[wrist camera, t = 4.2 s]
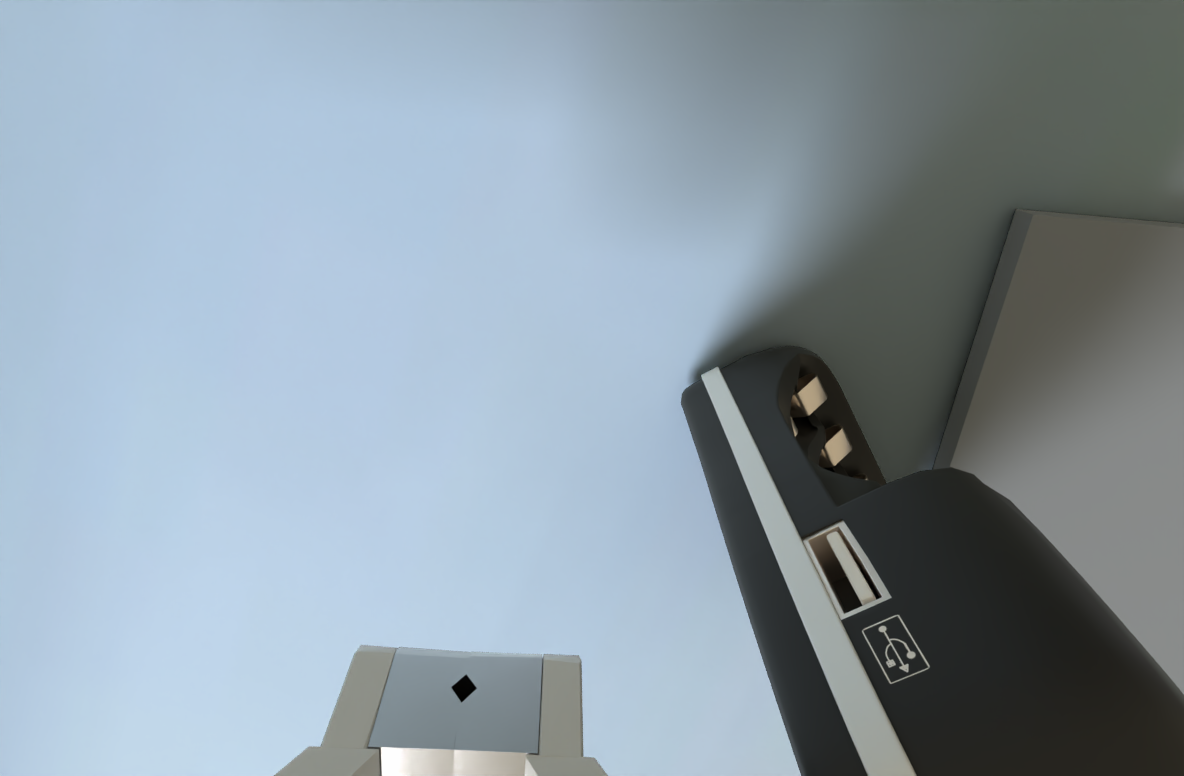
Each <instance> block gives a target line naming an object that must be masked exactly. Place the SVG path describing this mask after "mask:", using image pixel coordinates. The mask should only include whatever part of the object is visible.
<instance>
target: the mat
mask: <svg viewBox="0 0 1184 776" xmlns="http://www.w3.org/2000/svg"><path fill="white" fill-rule="evenodd" d="M949 467H953V468H956V469H959V470H962V471H965V472H968V473H971V474H974V475H975V476H976V477H977V478H978V479H980V480H981V481H982V482H983V483H984V484H985V485H987V486H989V487H990V488H992V489H993V490H995V491H996V492H998V493H1000V494H1001V495H1003V496H1004V497H1006V498H1008V499H1009V500H1010V501H1011V502H1012V503H1013V504H1014V505H1015V506H1016V507H1017V508H1018V509H1019V510H1020V511H1021V512H1022V513H1023V514H1024V515H1025V516H1026V517H1027V518H1028V519H1029V520H1030V521H1031V522H1032V523H1033V524H1034V525H1035V526H1036V527H1037V528H1038V529H1039V530H1040V531H1041V532H1042V533H1043V534H1044V536H1045V537H1046V538H1047V539H1048V540H1049V541H1050V542H1051V543H1052V544H1053V545H1054V546H1055V548H1056V549H1057V550H1058V551H1059V552H1060V553H1061V554H1062V555H1063V556H1064V557H1065V558H1066V560H1067V561H1068V562H1069V563H1070V564H1071V565H1072V566H1073V567H1074V568H1075V569H1076V570H1077V572H1078V573H1079V574H1080V575H1081V576H1082V577H1083V578H1084V579H1085V581H1086V582H1087V583H1088V584H1089V585H1090V586H1091V587H1092V588H1093V590H1094V591H1095V592H1096V593H1097V594H1098V595H1099V596H1100V597H1101V599H1102V600H1103V601H1104V602H1105V603H1106V604H1107V605H1108V606H1109V608H1110V609H1111V610H1112V611H1113V612H1114V613H1115V614H1116V615H1117V617H1118V618H1119V619H1120V620H1121V621H1122V622H1123V624H1124V625H1125V626H1126V627H1127V628H1128V629H1129V631H1130V632H1131V633H1132V634H1133V635H1134V636H1135V637H1136V639H1137V640H1138V641H1139V642H1140V643H1141V644H1142V646H1143V647H1144V648H1145V649H1146V650H1147V651H1148V653H1149V654H1150V655H1151V656H1152V657H1153V658H1154V660H1155V661H1156V662H1157V663H1158V664H1159V665H1160V666H1161V668H1162V669H1163V670H1164V671H1165V672H1166V674H1167V675H1168V676H1169V677H1170V678H1171V680H1172V681H1173V682H1174V683H1175V684H1176V686H1177V687H1178V688H1179V689H1180V690H1181V692H1182V693H1183V694H1184V224H1181V223H1170V222H1158V221H1147V220H1135V219H1124V218H1113V217H1101V216H1090V215H1078V214H1067V213H1056V212H1044V211H1033V210H1021V209H1016V211H1015V214H1014V217H1013V220H1012V223H1011V226H1010V229H1009V232H1008V236H1007V239H1006V242H1005V245H1004V248H1003V251H1002V254H1001V257H1000V260H999V264H998V267H997V270H996V273H995V276H994V279H993V282H992V285H991V289H990V292H989V295H988V298H987V301H986V304H985V307H984V310H983V314H982V317H981V320H980V323H979V326H978V329H977V332H976V335H975V338H974V342H973V345H972V348H971V351H970V354H969V357H968V360H967V363H966V367H965V370H964V373H963V376H962V379H961V382H960V385H959V388H958V391H957V395H956V398H955V401H954V404H953V407H952V410H951V413H950V416H949V420H948V423H947V426H946V429H945V432H944V435H943V438H942V441H941V445H940V448H939V451H938V454H937V457H936V460H935V463H934V466H933V469H932V470H934V469H941V468H949Z"/></svg>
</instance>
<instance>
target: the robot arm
mask: <svg viewBox="0 0 1184 776" xmlns="http://www.w3.org/2000/svg"><path fill="white" fill-rule="evenodd" d="M274 776H608V775H607V774H606V773H605V771H604V770H603V768H602V767H601V766H600V764H599V763H598V762H597V760H596V759H595V758H591V757H583V716H582V668H581V659H580V657H579V655H554V654H544V655H543V659H542V654H520V653H494V652H462V651H449V650H435V649H421V648H407V647H399V648H394V647H381V646H368V645H361V646H360V647H359V648H358V650H357V651H356V652H355V654H354V656H353V659H352V661H351V664H350V667H349V670H348V672H347V675H346V678H345V681H344V683H343V686H342V689H341V692H340V694H339V697H338V700H337V703H336V705H335V708H334V711H333V714H332V716H331V719H330V722H329V725H328V727H327V730H326V733H325V736H324V738H323V741H322V744H321V747H307V748H306V749H305V750H304V751H303V752H301V753H300V754H299V755H298V756H297V757H296V758H294V759H293V760H292V761H291V762H290V763H288V764H287V765H286V766H285V767H284V768H282V769H281V770H280V771H279V772H278V773H276V774H275V775H274Z"/></svg>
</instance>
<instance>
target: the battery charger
mask: <svg viewBox="0 0 1184 776" xmlns="http://www.w3.org/2000/svg"><path fill="white" fill-rule="evenodd" d="M701 377H702V379H701V380H700V381H698V382H696V383H694V384H692V385H690V386H689V387H688V388H686V389H685V390H684V392H683V393H682V399H681V405H682V408H683V411H684V414H685V416H686V419H687V422H688V425H689V428H690V431H691V434H692V437H693V440H694V443H695V446H696V449H697V452H698V455H699V458H700V461H701V465H702V468H703V471H704V474H705V477H706V480H707V484H708V487H709V490H710V494H711V497H712V501H713V504H714V507H715V510H716V514H717V517H718V520H719V523H720V527H721V530H722V533H723V536H724V540H725V543H726V546H727V549H728V552H729V556H730V559H731V562H732V565H733V569H734V572H735V575H736V578H737V581H738V584H739V588H740V591H741V594H742V597H743V600H744V603H745V606H746V609H747V613H748V616H749V619H750V622H751V625H752V628H753V631H754V634H755V637H756V640H757V643H758V646H759V649H760V653H761V656H762V659H763V662H764V665H765V668H766V671H767V674H768V677H769V680H770V683H771V686H772V689H773V692H774V695H775V698H776V701H777V704H778V707H779V710H780V713H781V716H782V719H783V722H784V725H785V728H786V731H787V734H788V737H789V740H790V743H791V746H792V749H793V752H794V755H795V758H796V761H797V764H798V767H799V770H800V773H801V776H1184V694H1183V693H1182V692H1181V690H1180V689H1179V688H1178V687H1177V686H1176V684H1175V683H1174V682H1173V681H1172V680H1171V678H1170V677H1169V676H1168V675H1167V674H1166V672H1165V671H1164V670H1163V669H1162V668H1161V666H1160V665H1159V664H1158V663H1157V662H1156V661H1155V660H1154V658H1153V657H1152V656H1151V655H1150V654H1149V653H1148V651H1147V650H1146V649H1145V648H1144V647H1143V646H1142V644H1141V643H1140V642H1139V641H1138V640H1137V639H1136V637H1135V636H1134V635H1133V634H1132V633H1131V632H1130V631H1129V629H1128V628H1127V627H1126V626H1125V625H1124V624H1123V622H1122V621H1121V620H1120V619H1119V618H1118V617H1117V615H1116V614H1115V613H1114V612H1113V611H1112V610H1111V609H1110V608H1109V606H1108V605H1107V604H1106V603H1105V602H1104V601H1103V600H1102V599H1101V597H1100V596H1099V595H1098V594H1097V593H1096V592H1095V591H1094V590H1093V588H1092V587H1091V586H1090V585H1089V584H1088V583H1087V582H1086V581H1085V579H1084V578H1083V577H1082V576H1081V575H1080V574H1079V573H1078V572H1077V570H1076V569H1075V568H1074V567H1073V566H1072V565H1071V564H1070V563H1069V562H1068V561H1067V560H1066V558H1065V557H1064V556H1063V555H1062V554H1061V553H1060V552H1059V551H1058V550H1057V549H1056V548H1055V546H1054V545H1053V544H1052V543H1051V542H1050V541H1049V540H1048V539H1047V538H1046V537H1045V536H1044V534H1043V533H1042V532H1041V531H1040V530H1039V529H1038V528H1037V527H1036V526H1035V525H1034V524H1033V523H1032V522H1031V521H1030V520H1029V519H1028V518H1027V517H1026V516H1025V515H1024V514H1023V513H1022V512H1021V511H1020V510H1019V509H1018V508H1017V507H1016V506H1015V505H1014V504H1013V503H1012V502H1011V501H1010V500H1009V499H1008V498H1006V497H1004V496H1003V495H1001V494H1000V493H998V492H996V491H995V490H993V489H992V488H990V487H989V486H987V485H985V484H984V483H983V482H982V481H981V480H980V479H978V478H977V477H976V476H975V475H974V474H971V473H968V472H965V471H962V470H959V469H956V468H953V467H949V468H941V469H934V470H926V471H920V472H917V473H914V474H912V475H909V476H906V477H904V478H901V479H898V480H896V481H893V482H890V483H887V484H886V482H885V479H884V477H883V475H882V473H881V471H880V469H879V467H878V465H877V463H876V461H875V459H874V456H873V454H872V452H871V450H870V448H869V446H868V444H867V442H866V440H865V438H864V436H863V433H862V431H861V429H860V427H859V425H858V423H857V421H856V419H855V417H854V415H853V413H852V410H851V408H850V406H849V404H848V402H847V400H846V398H845V396H844V394H843V392H842V390H841V388H840V386H839V384H838V382H837V380H836V379H835V377H834V375H833V374H832V372H831V371H830V369H829V368H828V366H827V365H826V364H825V363H824V361H823V360H822V359H821V358H820V357H819V356H818V355H817V354H815V353H813V352H811V351H809V350H807V349H804V348H801V347H795V346H785V347H777V348H770V349H767V350H764V351H761V352H759V353H755V354H751V355H748V356H745V357H743V358H741V359H740V360H738V361H736V362H734V363H732V364H730V365H728V366H726V367H724V368H722V369H719V368H718V367H715V368H714V369H712V370H710V371H708V372H706V373H704V374H702V375H701Z"/></svg>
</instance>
